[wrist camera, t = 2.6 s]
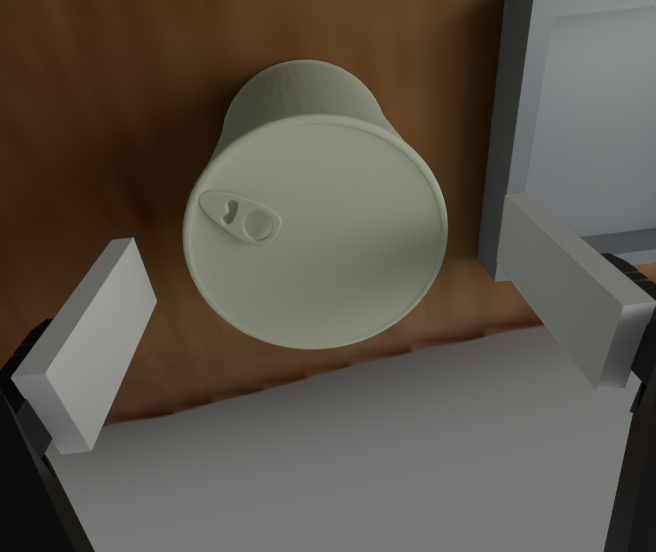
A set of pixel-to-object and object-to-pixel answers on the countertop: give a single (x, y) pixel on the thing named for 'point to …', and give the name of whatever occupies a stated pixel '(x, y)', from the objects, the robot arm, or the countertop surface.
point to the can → (313, 213)
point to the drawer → (576, 123)
